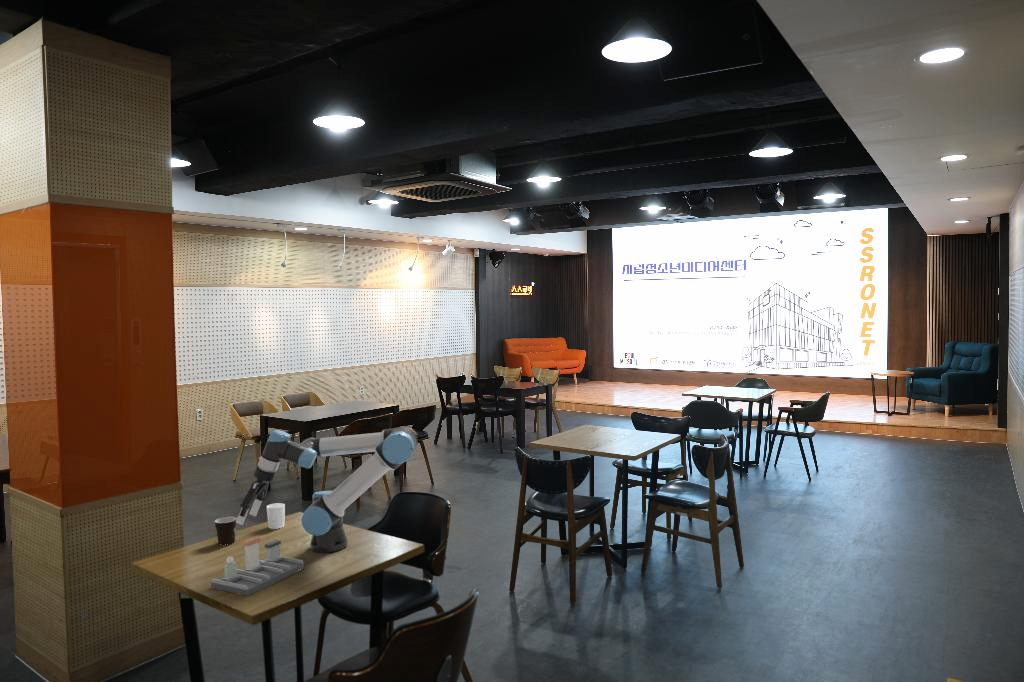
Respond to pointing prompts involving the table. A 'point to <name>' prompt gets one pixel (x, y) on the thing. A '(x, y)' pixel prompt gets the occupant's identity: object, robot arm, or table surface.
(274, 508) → the white cup
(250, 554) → the white tall block
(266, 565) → the grey slotted tray
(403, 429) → the robot arm
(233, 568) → the sage knob slider
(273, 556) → the grey slider
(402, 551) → the table surface
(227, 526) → the coffee mug
